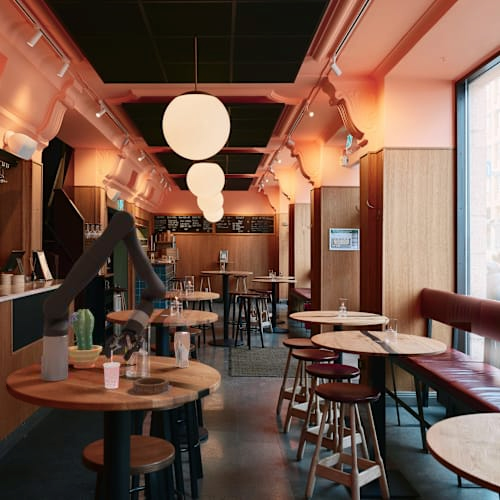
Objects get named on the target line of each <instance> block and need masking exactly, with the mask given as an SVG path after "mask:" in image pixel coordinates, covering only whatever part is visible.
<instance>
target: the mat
mask: <svg viewBox="0 0 500 500" xmlns="http://www.w3.org/2000/svg"><path fill="white" fill-rule="evenodd" d="M172 387H173V384H172V385H170V384H169V387H168V390H167V391H165V392H162V393H157V394H156V395H170V392H171V389H172ZM128 395H141V394H140V393H136V392H134V389H133V387H132V388H131V390H130V391H129V393H128Z"/></svg>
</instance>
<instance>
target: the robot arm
mask: <svg viewBox="0 0 500 500" xmlns="http://www.w3.org/2000/svg"><path fill="white" fill-rule="evenodd" d="M135 224H136V220H135V217H134V216H133V214H132V213H131V212H129V211H126V210H119V211H117V212H116V213H115V214H114V215H112V217H111V219H110V221H109V222H108V223H107V226H106V227H105V228H104V230H103V231H102V233H101V234H100V236H98V237H97V238H96V240H94V241H93V242H92V243H91V244H90V245H89V246H88V247H87V249H86V250H85V251H84V252H83V253H82V255H81V256H79V258H78V259H77V261H76V262H75V263H74V264H73V266H72V268H71V269H70V271H69V272H68V274H67V275H66V277H65V279H63V281H62V282H61V284H60V285H59V286H58V287H57V288H56V289H55V290H54V291H53V292H52V293H51V294H50V295H49V296H48V297H47V298H45V300H44V301H43V304H42V311H43V314H44V325H43V338H42V339H43V343H42V344H43V346H42V347H43V348H42V349H43V354H42V355H41V359H40V361H41V365H40V367H41V369H40V379H41V380H40V381H47V382H57V381H64V380H67V379H69V377H68V376H69V353H68V348H69V330H70V328H69V327H70V326H69V318H70V306H71V304H72V303H73V301H74V300H75V299H76V297H77V296H78V294H79V293H80V292H81V291H82V290H83V289H84V288H85V287H86V286H88V284H90V282H91V281H92V280H93V279H94V278H95V277H96V276H97V275H98V273H99V272H100V271H101V270H102V268H103V267H104V266H105V264H106V263H107V261H108V259H109V258H110V257H111V255H112V253H113V251H114V250H115V248H116V247H117V245H118V244H119V243H120V242H121V241H122V243H123V245H124V247H125V249H126V251H127V254H128V256H129V259H130V262H131V264H132V266H133V270H134V271H135V274H136V276H137V278H138V280H139V281H140V282H143V283H146V284H147V285H148V286H146V287H144V289H143V290H142V291H141V293H140V296H139V298H138V303H137V305H136V307H135V308H134V309H133V311H132V312H131V313H130V314H129V317H128V318H127V320H126V321H125V323H124V325H123V327H122V328H121V332H120V333H119V334H117V333H113V334H111V337H110V338H109V339H108V342H107V343H106V345H105V346H107V348H108V349H107V350H106V353H105V356H104V357H105V358H106V359H107V360H109V359H110V360H111V350H113V353H114V352H115V351H116V350H117V349H120V348H122V347H123V348H125V347H128V348H129V350H127V352H126V353H125V352H124V355H123V356H122V357H123V358H122V359H123V360H124V362H125V361H128V360H129V359H130V357H131V355H132V353H134V352H140V350H141V348H142V346H143V344H144V342H145V339H144V337H143V336H142V334H143V332H144V331H145V329H146V327H147V326H148V323H149V320H150V319H151V318H152V316H153V314H154V311H155V306H154V303H155V302H158V301H162V300H164V299H165V297H166V296H167V288H166V286H165V284H164V282H163V281H162V280H161V279H160V277H159V276H158V274H157V273H156V272H155V270H154V268H153V265H152V263H151V261H150V259H149V257H148V255H147V253H146V251H145V250H144V248H143V245H142V244H141V241H140V239H139V236H138V233H137V230H136V226H135ZM135 342H136V343H135ZM134 343H135V345H134ZM137 346H138V347H137Z"/></svg>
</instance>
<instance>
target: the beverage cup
mask: <svg viewBox="0 0 500 500" xmlns="http://www.w3.org/2000/svg"><path fill="white" fill-rule="evenodd" d="M113 355H114V352H113V350H111V357H110V360H111V361H110V362H104V363H103V365H102V366H103V371H104V373H103V375H104V388H105V389H108V390H111V389H112V390H113V389H117V388H119V379H120V378H119V377H120V366H121V363H120V362H115V361H113Z"/></svg>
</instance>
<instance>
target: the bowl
mask: <svg viewBox="0 0 500 500" xmlns="http://www.w3.org/2000/svg"><path fill="white" fill-rule="evenodd" d="M169 381H170V380H169V379H168V378H165V377H157V376H156V377H154V376H153V377H141V378H138V379H134V380H133V382H132V388H133V389H134V392H136V393H140V394H139V395H158V394H157V393H162V392H165V391H167V390H168V387H169V385H170V383H169Z"/></svg>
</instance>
